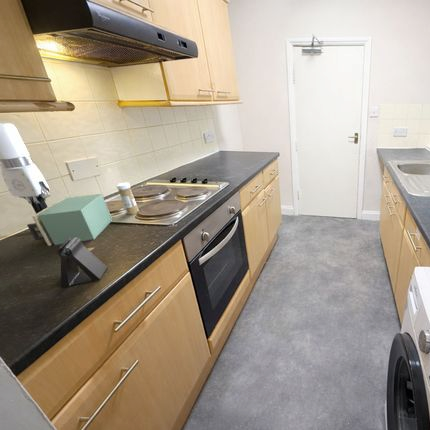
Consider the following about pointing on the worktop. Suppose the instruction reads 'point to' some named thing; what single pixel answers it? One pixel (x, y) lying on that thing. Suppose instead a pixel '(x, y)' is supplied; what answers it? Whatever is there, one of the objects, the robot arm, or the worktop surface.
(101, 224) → the teal rectangular block
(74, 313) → the worktop surface
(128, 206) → the sprinkles bottle
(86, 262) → the phone stand
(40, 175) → the robot arm
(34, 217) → the door
